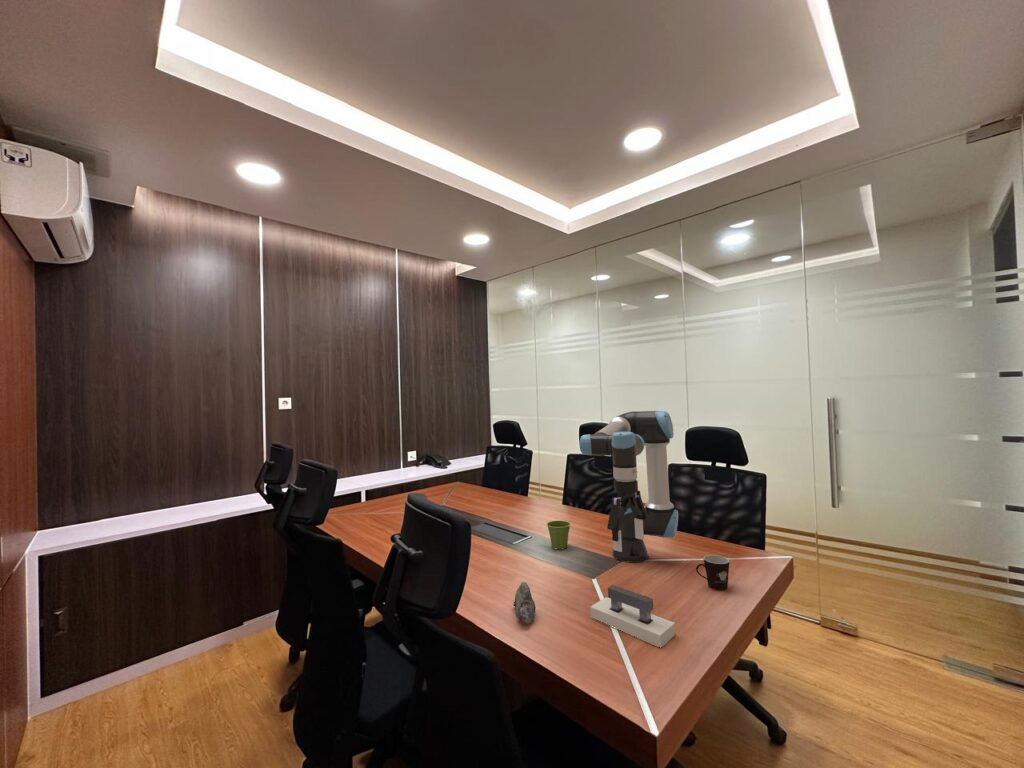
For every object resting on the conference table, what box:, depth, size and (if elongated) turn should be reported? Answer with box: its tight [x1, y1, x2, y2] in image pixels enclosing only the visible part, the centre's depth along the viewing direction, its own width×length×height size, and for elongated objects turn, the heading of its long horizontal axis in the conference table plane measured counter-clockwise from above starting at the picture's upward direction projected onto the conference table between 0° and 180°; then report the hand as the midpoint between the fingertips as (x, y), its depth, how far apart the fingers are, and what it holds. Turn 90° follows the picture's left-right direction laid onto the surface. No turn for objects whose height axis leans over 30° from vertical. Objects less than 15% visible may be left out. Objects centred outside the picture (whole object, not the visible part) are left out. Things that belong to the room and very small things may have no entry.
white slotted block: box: [589, 596, 676, 649], centre depth 128 cm, size 24×9×4 cm, turn 43°
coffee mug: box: [695, 554, 730, 592], centre depth 153 cm, size 12×9×10 cm
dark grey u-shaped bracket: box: [607, 584, 654, 625], centre depth 128 cm, size 14×3×10 cm, turn 43°
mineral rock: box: [512, 581, 536, 624], centre depth 137 cm, size 13×11×10 cm
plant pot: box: [546, 520, 572, 550], centre depth 199 cm, size 12×12×11 cm
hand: (629, 544), depth 135 cm, fingers open, 13 cm apart
